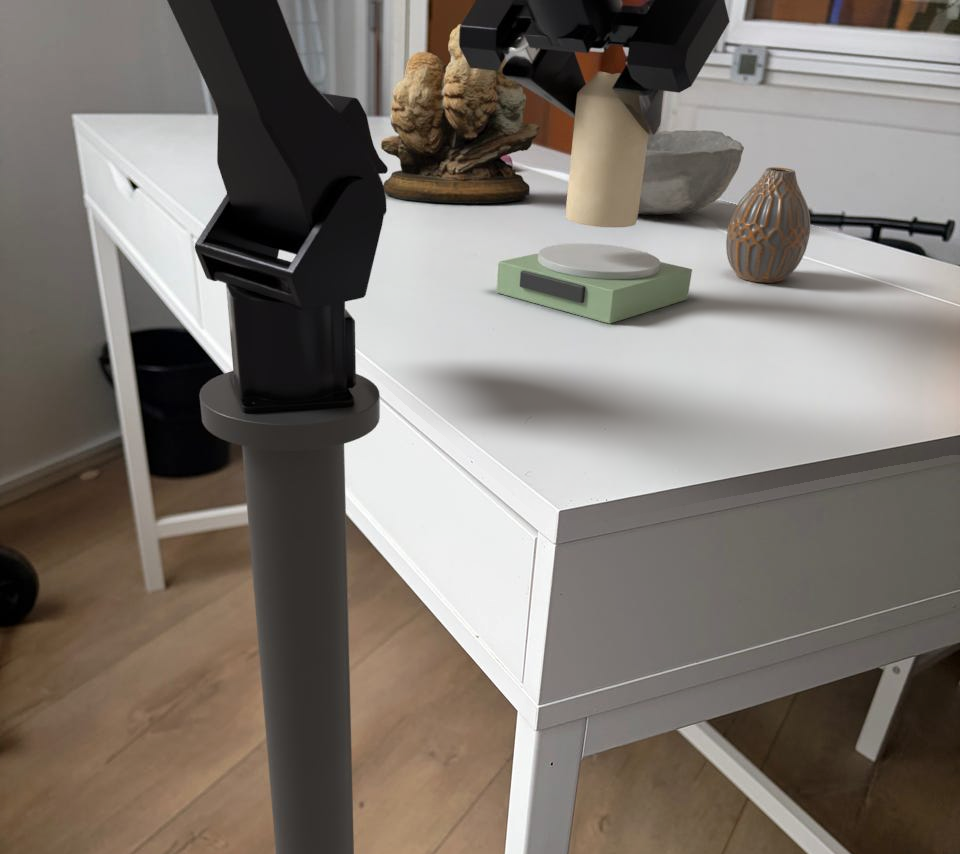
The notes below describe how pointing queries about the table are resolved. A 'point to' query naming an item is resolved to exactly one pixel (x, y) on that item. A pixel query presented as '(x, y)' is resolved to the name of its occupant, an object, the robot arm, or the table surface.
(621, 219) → the candle
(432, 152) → the owl figurine
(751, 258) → the vase
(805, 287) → the table surface
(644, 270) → the scale
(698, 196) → the bowl
